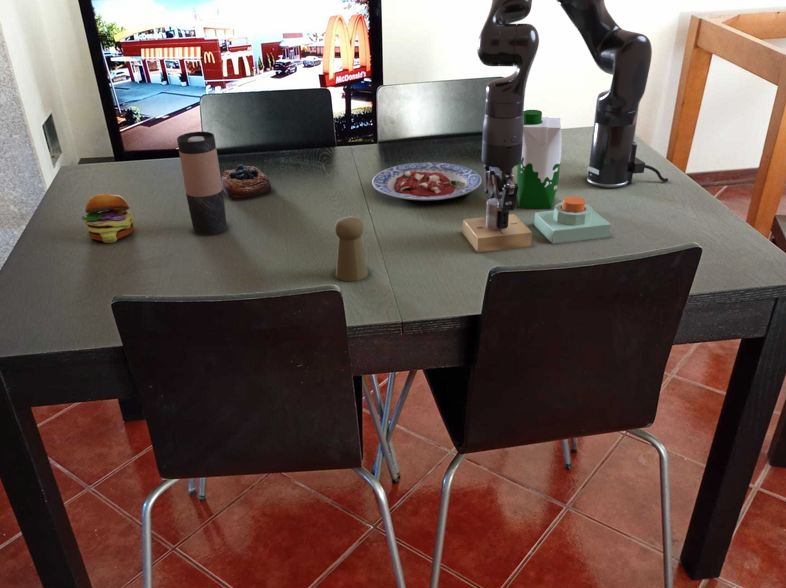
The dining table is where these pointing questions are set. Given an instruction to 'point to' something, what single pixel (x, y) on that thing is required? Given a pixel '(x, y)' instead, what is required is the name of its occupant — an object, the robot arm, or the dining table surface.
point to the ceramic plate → (426, 181)
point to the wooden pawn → (350, 250)
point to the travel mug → (202, 182)
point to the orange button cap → (573, 204)
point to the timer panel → (496, 234)
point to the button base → (571, 225)
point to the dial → (491, 214)
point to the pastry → (245, 183)
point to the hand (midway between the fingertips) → (497, 222)
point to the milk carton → (539, 160)
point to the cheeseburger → (108, 218)
